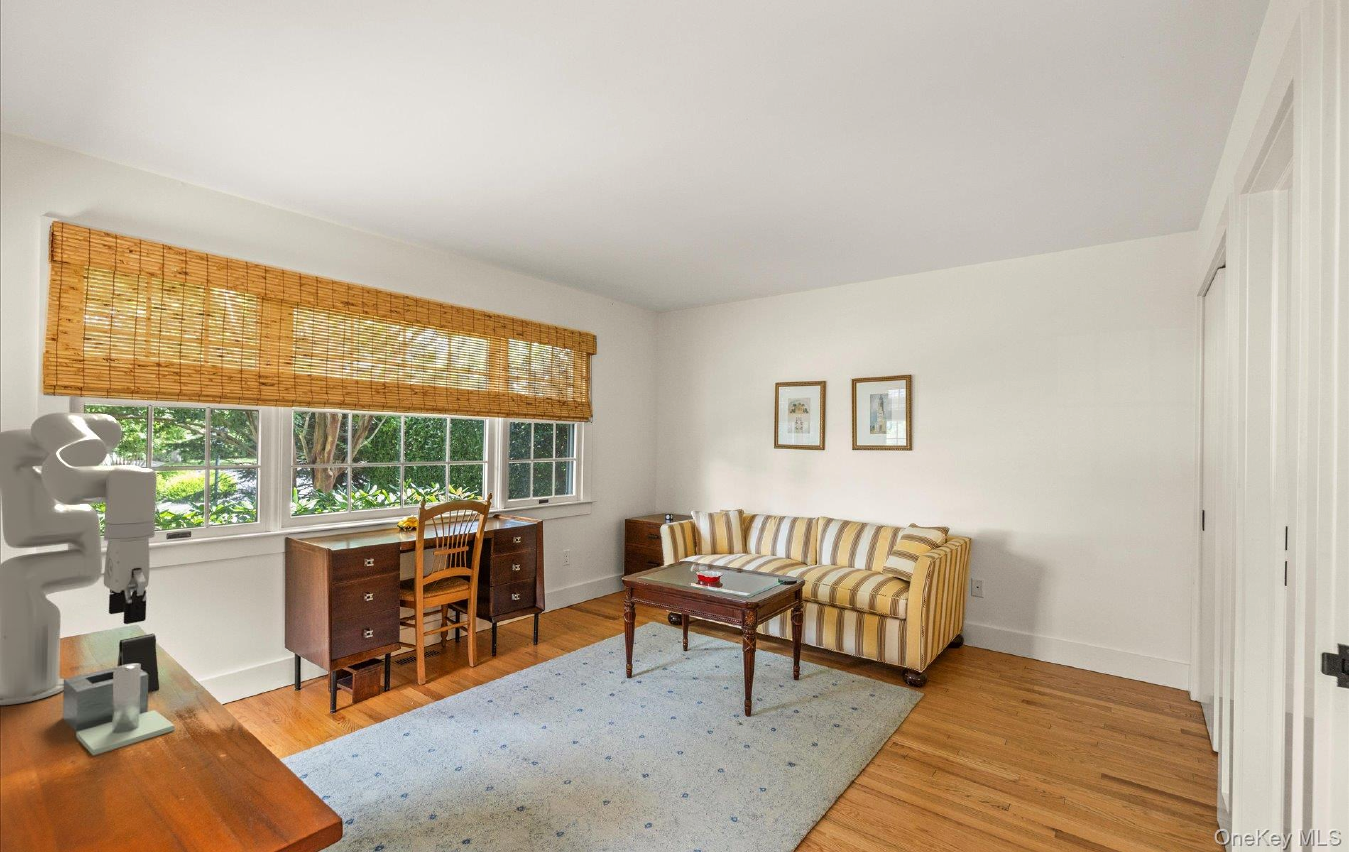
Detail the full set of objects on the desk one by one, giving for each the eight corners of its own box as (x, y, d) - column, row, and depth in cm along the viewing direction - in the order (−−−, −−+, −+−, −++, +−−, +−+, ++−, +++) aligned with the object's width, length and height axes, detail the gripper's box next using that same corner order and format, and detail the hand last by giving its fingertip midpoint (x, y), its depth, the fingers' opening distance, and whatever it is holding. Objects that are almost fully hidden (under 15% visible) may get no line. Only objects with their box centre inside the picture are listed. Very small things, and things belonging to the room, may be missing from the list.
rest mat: (76, 737, 119) (76, 731, 119) (154, 714, 129) (154, 709, 129) (93, 755, 113) (93, 750, 113) (174, 730, 122) (174, 725, 122)
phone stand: (114, 688, 143) (115, 636, 143) (147, 680, 147) (148, 630, 148) (125, 698, 137) (126, 644, 138) (159, 689, 142) (160, 637, 142)
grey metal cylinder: (109, 729, 120) (110, 667, 121) (135, 721, 124) (137, 661, 124) (115, 735, 118) (116, 672, 118) (142, 727, 121) (143, 666, 122)
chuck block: (62, 717, 128) (63, 679, 128) (131, 699, 137) (132, 663, 137) (76, 732, 121) (77, 691, 121) (147, 712, 130) (148, 674, 130)
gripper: (92, 528, 124) (89, 613, 124) (118, 538, 114) (114, 631, 114) (140, 524, 130) (137, 605, 130) (168, 533, 120) (165, 621, 120)
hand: (126, 617), depth 122 cm, fingers open, 9 cm apart
